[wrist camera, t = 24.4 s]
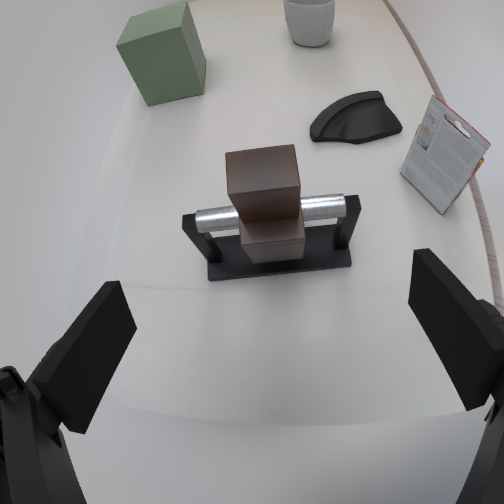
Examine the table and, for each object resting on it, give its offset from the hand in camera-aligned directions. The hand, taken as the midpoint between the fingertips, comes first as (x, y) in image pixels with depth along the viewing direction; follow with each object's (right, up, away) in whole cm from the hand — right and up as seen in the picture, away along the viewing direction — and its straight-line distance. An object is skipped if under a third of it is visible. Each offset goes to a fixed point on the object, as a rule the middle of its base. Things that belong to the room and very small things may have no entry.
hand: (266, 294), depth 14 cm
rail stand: (+2, +2, +23) cm, 23 cm away
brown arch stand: (+2, +4, +20) cm, 20 cm away
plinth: (-14, +32, +37) cm, 50 cm away
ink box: (+22, +10, +23) cm, 34 cm away
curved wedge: (+14, +21, +29) cm, 38 cm away
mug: (+11, +44, +38) cm, 59 cm away
